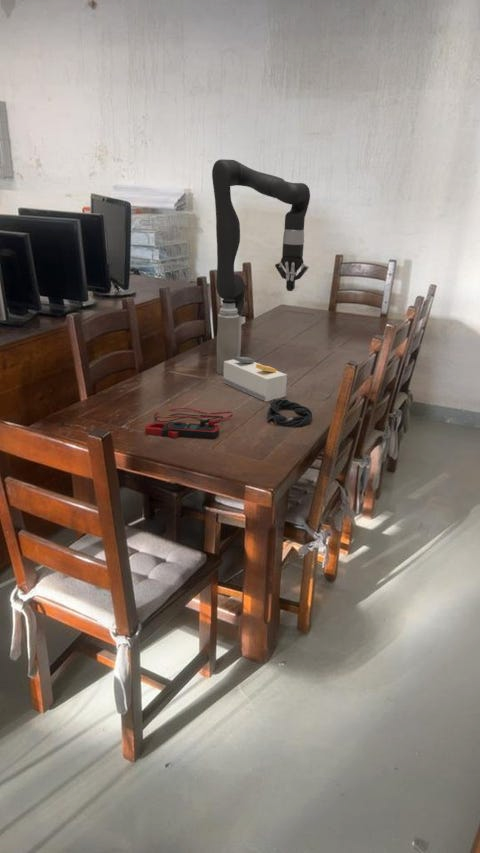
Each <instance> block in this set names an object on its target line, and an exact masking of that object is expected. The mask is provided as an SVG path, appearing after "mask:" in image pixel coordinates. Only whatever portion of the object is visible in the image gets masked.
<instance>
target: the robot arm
mask: <svg viewBox="0 0 480 853" xmlns="http://www.w3.org/2000/svg"><path fill="white" fill-rule="evenodd" d="M211 178H212V188H213V194H214V204H215V206H214V207H215V219H216V220H215V221H216V222H215V223H216V224H215V227H216V228H215V231H216V234H215V235H216V254H217V255H216V259H217V262H216V264H217V265H216V266H217V267H216V281H215V287H216V288H215V289H216V292H217V294H218V296H219V297H220V299H222V300H223V299H233V300H235V308H237V311H238V312H237V314H238V315H239V340H238V357H241V351H242V350H241V347H242V345H241V344H242V319H243V318H242V314H243V310H244V306H245V296H246V295H245V294H246V286H245V281H244V279H243V277H242V276H241V275H239V274H237V273H235V260H236V256H237V254H238V251H239V246H240V242H241V226H240V225H241V224H240V219H239V216H238V214H237V212H236V210H235V207H234V205H233V202H232V194H231V187H234V186H241V187H248V188H250V189H253V190H254V191H256V192H257V193H259V194H262V195H263V196H266V197H270V198H273V199H276V200H279V201H280V202H282V203H284V204H287V205H291V206H290V207H291V208H290V211H288V212H286V214H285V217H284V228H283V230H284V231H283V235H282V236H283V238H282V254H281V256H282V257H281V259H280V261H279V262H277V263H275V264H274V266H275V268H276V270H277V271H278V273H279V275H280V277H281V278H282V279H285V280H286V285H285V288H286V291H288V292H293V291H294V290H295V288H296V281H297V280H300V279H301V278H302V277H303V276H304V275H305V273H306V272H307V271H308V270H309V267H310V266H307V265H306V264H305V263H304V259H303V256H304V247H305V246H304V243H305V220H306V219H305V217H306V214H307V211H308V209H309V208H308V207H309V203H310V202H311V200H310V199H311V191H310V188H309V186H308V185H307V184H306V183H302V182H290V181H286V180H284V178H282V177H280V176H279V177H278V176H275V175H272V174H269V173H265V172H260V171H257V170H255V169H253V168H250V167H248V166H247V165H245V164H243V163H241V162H239V161H238V160H235V159H225V158H224V159H218V160H217V161H215V162H214V164H213V166H212V171H211ZM298 270H300V271H299V272H298ZM220 308H222V305H221V306H220V307H219V310H218V314H220V312H219V311H220ZM217 334H218V332H216V335H217Z"/></svg>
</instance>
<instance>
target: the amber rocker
mask: <svg viewBox="0 0 480 853" xmlns="http://www.w3.org/2000/svg"><path fill="white" fill-rule="evenodd" d="M259 364H260V363H259ZM259 364H256V368H258V369H261V370H263V371H265V372H268V373H270V372H276V371H277V368H274V367H272V366H268V365H264V364H261V365H259Z"/></svg>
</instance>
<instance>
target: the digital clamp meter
mask: <svg viewBox="0 0 480 853" xmlns="http://www.w3.org/2000/svg"><path fill="white" fill-rule="evenodd" d="M175 410H190V411H194V412H198V413H201V414H199V415H197V414H196V415H195V414H188V413H187V414H186V413H180V415H183V416H177V415H179V413H173V414H169V415H168V416H167V417H162V416H161V415H157V414H159V413H160V411H157V412H155V413H154V416H156V417H154V420H155V421H156V422H152V423H149V424H147V425H146V426H144V429H145V431H144V432H145V434H146V435H152V436H161V437H171V438H173V439H176V438H178V437H179V438H181V437H182V438H192V439H193V438H194V439H195V438H196V439H207V440H210V439H211V440H216V439H217V438H218V437H219V435H220V426H219V425H218V424H220V423H221V422H226V421H229V419H231V418H232V417H233V415H234V414H233V413H234V411H233V412H232V411H229V410H228V411H218V412H210V413H207V412H203V411H200V410H197V409H194V408H193V409H192V408H189V407H179V408H174V409H168V410H167V412H171V411H175ZM203 414H204V415H203ZM222 414H230V415H229V416H223V415H222ZM220 415H221V416H220ZM158 418H160V419H170V418H171V420H163V421H162V420H158ZM172 418H173V419H172ZM174 418H175V419H174ZM205 418H206V419H205ZM182 419H193V420H198V421H199V423H195V422H194V423H193V422H182V421H176V420H182ZM215 419H219V420H215ZM175 421H176V422H175Z"/></svg>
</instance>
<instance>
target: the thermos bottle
mask: <svg viewBox="0 0 480 853" xmlns="http://www.w3.org/2000/svg"><path fill="white" fill-rule="evenodd" d="M221 303H222V304H221V306H222V308H220V307H219V309H220V311H219V310H218V313H217V333H218V334H217V333H216V363H217V364H216V373H217V374H218V375H221V376H224V361H228V360H233V359H234V358H235V356H237V357H238V340H239V315H238V314H237V312H238V311H237V308H235V300H233V299H222V301H221ZM219 312H220V314H219Z"/></svg>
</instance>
